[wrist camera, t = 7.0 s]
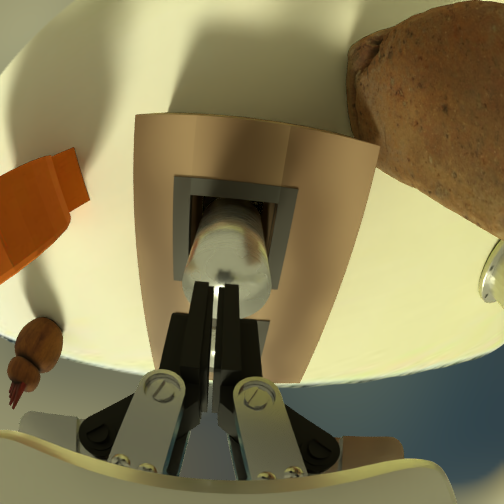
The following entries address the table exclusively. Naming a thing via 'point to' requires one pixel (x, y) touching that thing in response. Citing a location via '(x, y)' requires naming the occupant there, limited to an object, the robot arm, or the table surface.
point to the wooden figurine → (33, 356)
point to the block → (437, 106)
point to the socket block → (272, 218)
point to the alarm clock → (37, 207)
